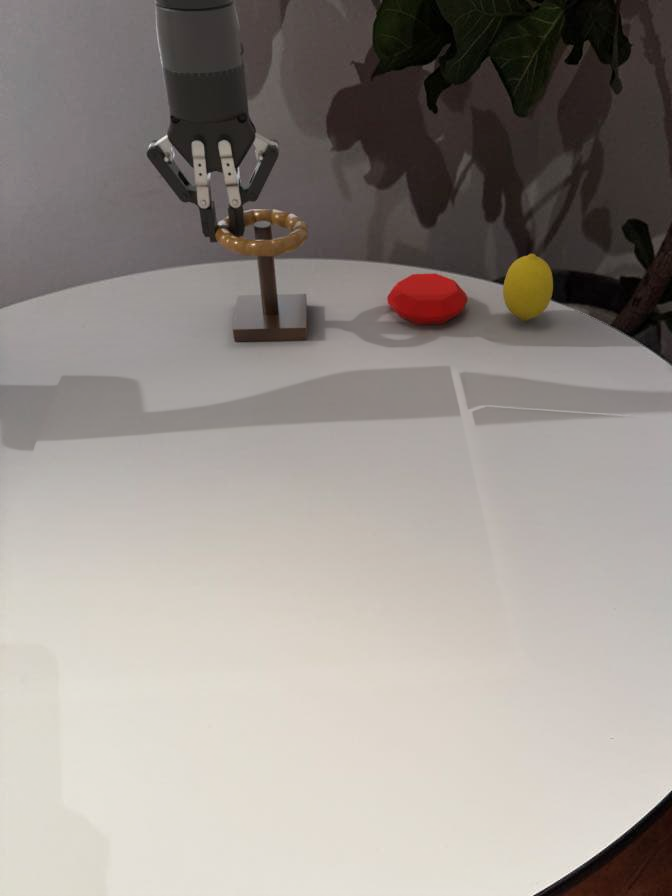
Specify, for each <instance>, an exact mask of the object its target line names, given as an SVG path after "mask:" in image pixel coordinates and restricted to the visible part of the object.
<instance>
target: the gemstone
mask: <svg viewBox="0 0 672 896" xmlns="http://www.w3.org/2000/svg"><path fill="white" fill-rule="evenodd" d="M386 299H387V304H388V306H390V308H391V309H392V310H393V311H394V312H395V313H396V314H397V315H398V316H399V318H401V319H404V320H406V321H407V322H408V321H409V322H411V323H413V324H415V325H418V326H420V325H421V326H422V325H423V326H424V325H443V324H444V323H446V322H447V321H449V320H451V319H452V318H454V317H456V316H457V315H458V314H460V313H461V312H463V310H464V309H465V306H466V304H467V303H468V296H467V293H466V292H465V291H464V290H463V288H462V287H461V286H460V285H459V284H458V283H457V282H456V280H454V279H451V278H449V277H446V276H444V275H442V274H439V273H436V272H435V273H413V274H410V275H409V276H407V277H405V278H403V279H402V280H399V281H398V282H397V283H396V284H395V285H394V286H393V287H392V289H391V290H390V291H389V293H388V294H387V297H386Z"/></svg>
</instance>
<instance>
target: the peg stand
mask: <svg viewBox="0 0 672 896" xmlns="http://www.w3.org/2000/svg"><path fill="white" fill-rule="evenodd" d="M253 233H254V240H271V239H273V233H272V225H271V223H270V222H267V221H259V222H256V223H254V225H253ZM256 261H257V272H258V279H259V290H260V294H243V295H242V294H240V295H239V294H238V295H236V303H235V310H234V319H233V326H232V333H233V341H234V342H237V343H238V342H273V341H307V340H308V301H307V300H308V299H307V298H308V297H307V293H287V294H278V288H277V287H278V285H277V277H276V264H275V256H256Z"/></svg>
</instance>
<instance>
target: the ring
mask: <svg viewBox="0 0 672 896" xmlns="http://www.w3.org/2000/svg"><path fill="white" fill-rule="evenodd" d="M243 212H244V221H245V228H249V227H252V226H253V227H254V223H256V222H259V221H267V222H270V223H271V226H275V227H279V228H283V229H287V230H289V231H290V233H288V234H287V235H285V236H281V237H276V238H272V239H271V240H255V239H249V238H245V237H242V236H240V237H237V236H235V235H233V234H232V233H231V231H230V223H229V215H228V216H226V217H225V218H223V219H221V220H219V221H218V222H217V229H216V234H215V237H216V240H217V241H218V242H217V243H218V244H220V245H221V246H222V247H223V248H225V250H227V251H229V252H231V253H234V254H239V255H244V256H247V257H257V256H274V257H275V256H280V255H283V254H288V253H292V252H294V251H296V250H297V249H299V248H300V247H302V246H303V245H304V244H306V242H307V241H308V239H309V238H308V237H309V228H308V224H307V223H306V222H305V221H304V220H303V219H301V218H300V217H298V216H297V215H296V214H293V213H291V212H286V211H282V210H278V209H265V208H263V209H257V208H255V209H253V208H252V209H249V210H243Z"/></svg>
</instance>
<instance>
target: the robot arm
mask: <svg viewBox="0 0 672 896" xmlns="http://www.w3.org/2000/svg"><path fill="white" fill-rule="evenodd" d="M154 7H155V8H154V9H155V28H156V38H157V45H158V50H159V58H160V63H161V68H162V69H161V71H162V76H163V82H164V90H165V95H166V102H167V107H168V115H169V124H168V127H167V131H166V135H165V136H163V137H161V138H160V139H159V140H157V139H154V140H151V141H150V143H149V145H148V148H147V151H146V157H147V159H148V160H149V161H150V163H151V164H152V165H153V166H154V168H155V169H156V170H157V172H158V173H159V174H160V176H161V177H162V179H163V180H164V182H166V183H167V185H168V186H169V187H170V189H171V190H172V192H174V194H175V195H176V197H177V198H178V199H179V200H180V201H181V202H182V203H186V204H187V203H191V204H194V205H195V206H196V207H197V208H198V211H199V218H200V224H201V231H202V234H203V236H204V237H205V238H209V243H213V244H214V243H219V242H218V241H217V240H216V237H215V234H216V229H217V224H218V219H217V212H216V205H215V200H212V199H213V198H212V183H211V181H212V180H211V173H214V172H217V173H222V174H223V179H224V185H225V187H226V192H227V199H228V204H227V213H228V216H229V223H230V231H231V233H232V234H233V235H235V236H237V237H244V235H245V229H246V227H245V221H244V212H243V211H244V204H246V203H249V202H252V203H254V202H256V201H257V200H258V199H259V197H260V195H261V193H262V191H263V188H264V186H265V184H266V182H267V181H268V179H269V176H270V174H271V172H272V170H273V168H274V166H275V165H276V163H277V160H278V158H279V155H280V154H279V153H280V143H279V141H278V140H277V139H275V138H271V139H268V138H266V137H265V136H263V135H261V134H259V133H258V132H257V129H256V126H255V124H254V122H253V121H252V119H251V117H250V110H249V103H248V102H249V101H248V91H247V82H246V71H245V62H244V53H245V51H244V44H243V40H242V33H241V27H240V22H239V17H238V13H237V7H236V1H235V0H154ZM252 146H253V147H254V148H255V152H254V157H255V159H256V161H257V163H256V166H255V168H254V169H253V172H252V174H251V176H250V178H249V180H248V183H246V184H244V185H242V183H241V176H240V175H241V174H240V166H241V164H242V162H243V161H244V160H245V158H246V156H247V154H248V152H249V151H250V149H251V148H252ZM173 147H174V149H175V150H176V151H177V152H178V153H179V154H180V156H181V157H182V158H183V159H184V160H185V161H186V162H187V164H188V165H189V166H190V167H191V168H192V169H193V174H194V175H193V176H194V184H195V185H193V184H192V182H190V180H189V179H188V177H187V176H186V174H185V173H184V172H183V171H182V169H181V168H180V167H179V166H178V164H177V163H176V161H175V160H174V158H175V151H174V150H173Z"/></svg>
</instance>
